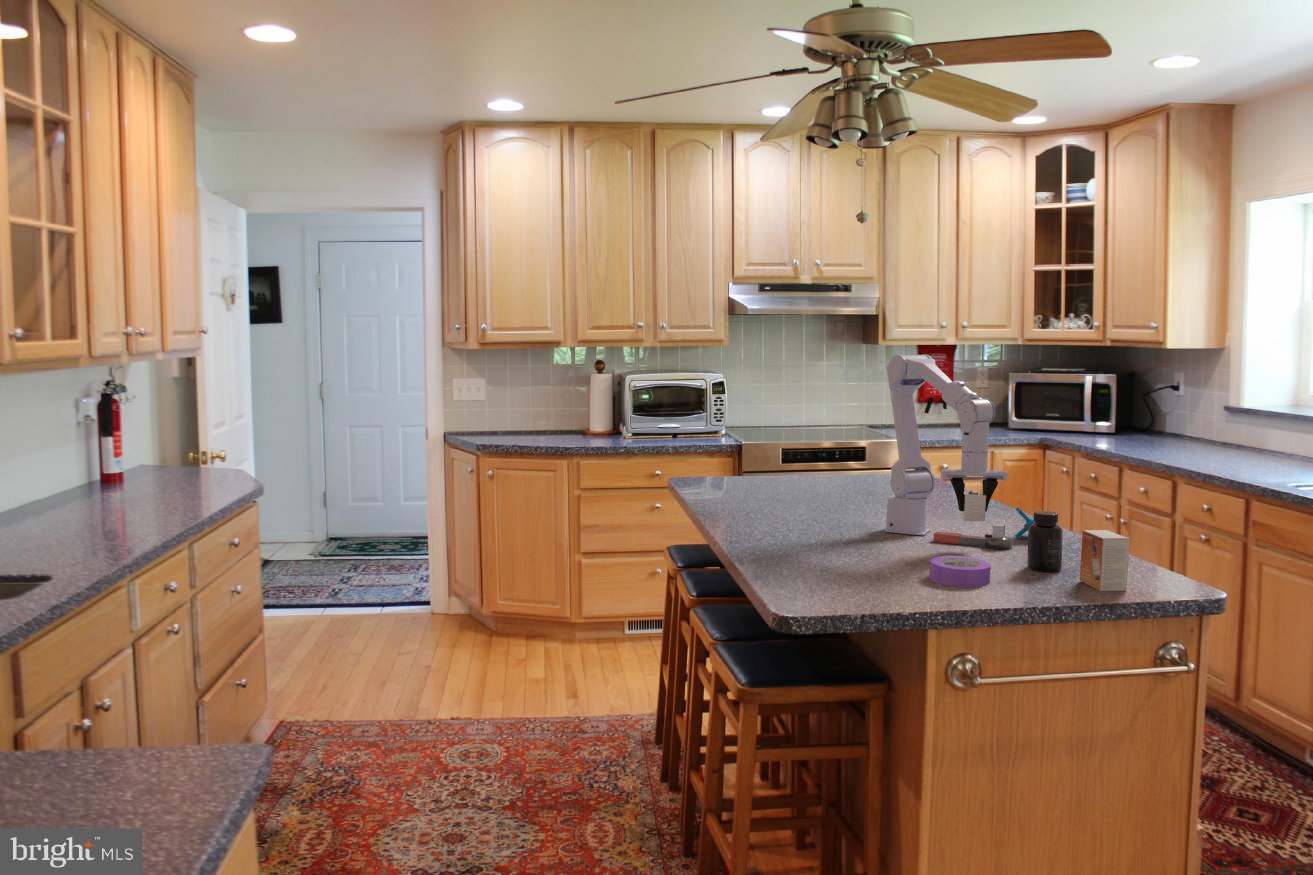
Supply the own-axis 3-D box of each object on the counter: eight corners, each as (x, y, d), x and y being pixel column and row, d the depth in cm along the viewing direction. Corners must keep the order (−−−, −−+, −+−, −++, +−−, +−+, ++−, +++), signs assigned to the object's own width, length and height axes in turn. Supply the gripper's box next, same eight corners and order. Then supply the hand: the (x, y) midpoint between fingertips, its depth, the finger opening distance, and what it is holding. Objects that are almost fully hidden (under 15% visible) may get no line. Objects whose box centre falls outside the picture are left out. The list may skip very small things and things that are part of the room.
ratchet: (932, 543, 238) (932, 521, 238) (937, 538, 243) (938, 517, 243) (1009, 550, 230) (1010, 528, 230) (1013, 545, 235) (1014, 523, 235)
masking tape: (1002, 585, 199) (1002, 566, 199) (950, 589, 196) (951, 570, 196) (968, 572, 210) (968, 554, 210) (918, 575, 207) (919, 557, 207)
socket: (964, 520, 229) (965, 493, 228) (960, 516, 234) (961, 489, 233) (984, 521, 229) (986, 493, 228) (980, 517, 233) (981, 490, 232)
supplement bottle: (1060, 566, 215) (1063, 511, 214) (1062, 573, 208) (1065, 516, 207) (1026, 564, 217) (1028, 509, 216) (1026, 571, 211) (1029, 514, 209)
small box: (1078, 581, 202) (1081, 529, 201) (1105, 580, 203) (1108, 529, 202) (1099, 591, 194) (1102, 537, 193) (1127, 591, 195) (1130, 537, 194)
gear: (1050, 537, 237) (1020, 505, 239) (1031, 554, 238) (1000, 522, 241) (1049, 535, 247) (1020, 504, 250) (1030, 551, 249) (1001, 520, 251)
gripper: (945, 453, 226) (943, 513, 228) (1012, 454, 225) (1009, 514, 226) (939, 449, 233) (937, 507, 235) (1004, 450, 232) (1002, 509, 233)
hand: (972, 510), depth 231 cm, fingers closed on socket, 5 cm apart
